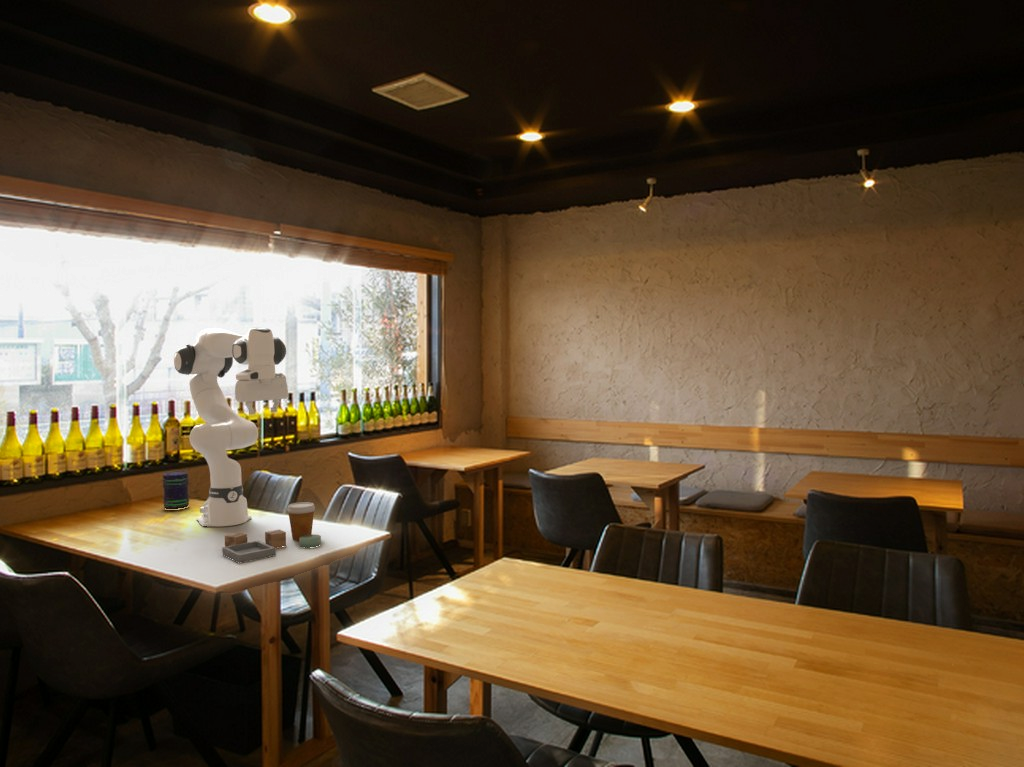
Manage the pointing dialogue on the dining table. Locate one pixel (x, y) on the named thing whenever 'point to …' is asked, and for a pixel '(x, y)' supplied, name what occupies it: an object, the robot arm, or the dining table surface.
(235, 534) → the walnut block
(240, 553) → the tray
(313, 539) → the sponge
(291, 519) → the disposable coffee cup
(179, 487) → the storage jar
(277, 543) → the walnut block
